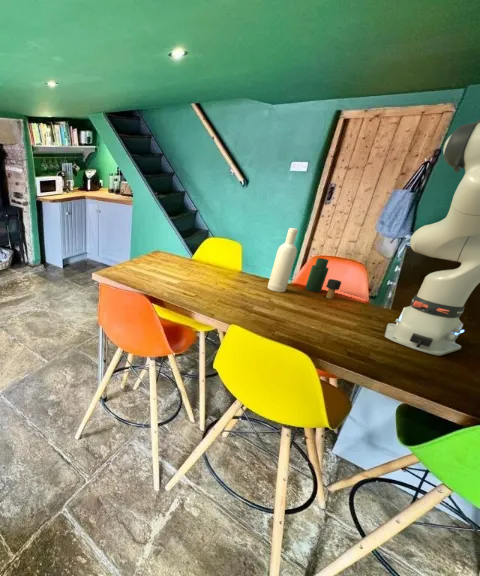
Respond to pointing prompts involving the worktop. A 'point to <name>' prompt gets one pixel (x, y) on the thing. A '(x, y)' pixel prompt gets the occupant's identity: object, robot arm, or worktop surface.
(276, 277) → the bottle
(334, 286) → the stopper
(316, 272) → the bottle
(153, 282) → the worktop surface
